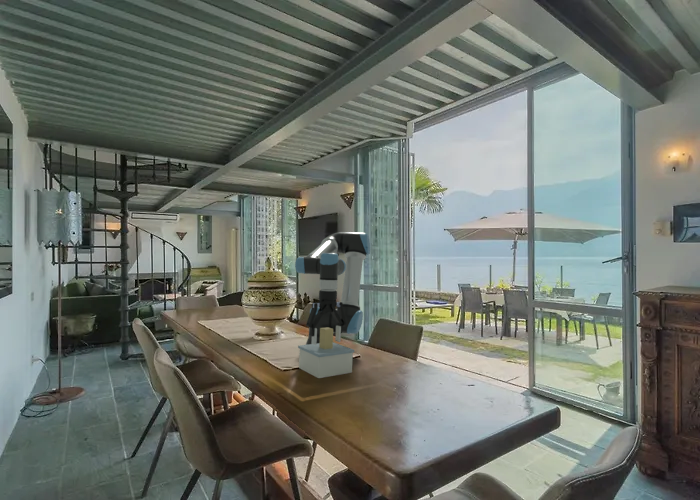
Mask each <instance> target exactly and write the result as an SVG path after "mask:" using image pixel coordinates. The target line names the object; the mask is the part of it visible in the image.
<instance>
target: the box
mask: <svg viewBox="0 0 700 500" xmlns="http://www.w3.org/2000/svg"><path fill="white" fill-rule="evenodd" d="M353 353H354V352H353ZM353 353H346V354H339V355H332V356H324V357H317V356H315V355H313V354H310V353H308V352H306V351H304V350H301V349H299V355H298V357H299V359H298V360H299V361H298V368H299V369H301V370H302V371H304V372H306V373H308V374H309V375H312V377H313V376H314V377H315V378H317V379H322V378H328V377H334V376H340V375H344V374H345V375H346V374H350V373H353Z"/></svg>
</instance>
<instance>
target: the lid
mask: <svg viewBox="0 0 700 500" xmlns="http://www.w3.org/2000/svg"><path fill="white" fill-rule="evenodd" d="M297 348H298V350H300V349H301V350H304V351H306V352H308V353H310V354H313V355H315V356H317V357H324V356H332V355H339V354H346V353H355V349H353V348H352V347H351V348H350V347H347V346H346V345H345V346H344V345H341V344H339V343H336V342H334V332H333V329H332V328H329V327H326V328H320V343H317V344H316V345H314V344H308V345H306V344H300V345H297Z"/></svg>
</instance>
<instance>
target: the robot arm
mask: <svg viewBox="0 0 700 500" xmlns="http://www.w3.org/2000/svg"><path fill="white" fill-rule="evenodd" d="M370 253H371V243H370V237H369V234H368V233H366V232H360V231H359V232H358V231H357V232H355V231H353V232H351V231H350V232H349V231H347V232H346V231H339V232H335V233H332V234H329V235H328V236H326V237H325V238H324V239H322V241H321V242H320V245H318V246H317V247H316V248H315V249H314V250H311V251H310V253H309V254H308V255H307V256H299V257H297V258H296V260H295V264H294V266H295V267H294V269H295V271H296V273H297V274H303V275H319V287H318V288H319V291H318V299H319V300H318V302H312V303H311V307H310V309H309V315H308V319H307V321H306V324H305V327H307V328H308V338H307V340H306V343H305V345H308V344H314V345H316V344H317V343H320V328H326V327H329V328H332V329H333V333H335V342H338V343H341V339H342V336H341V335H342V334H348V335H350V334H351V335H355V334H358V333H359V332H360V330H361V327H362V324H363V320H364V319H363V318H364V312H363V311H362V310H361V306H360V305H359V296H360V287H361V279H362V271H363V262H364V260H366V259H367V255H370ZM339 254H343V255H344V257H345V258H346V261H345V260H343V259H342V258H341V257H339ZM342 274H344V278H343V283H342V293H341V299H340V301H337V300H338V291H337V290H338V277H339V276H340V275H342Z"/></svg>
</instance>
